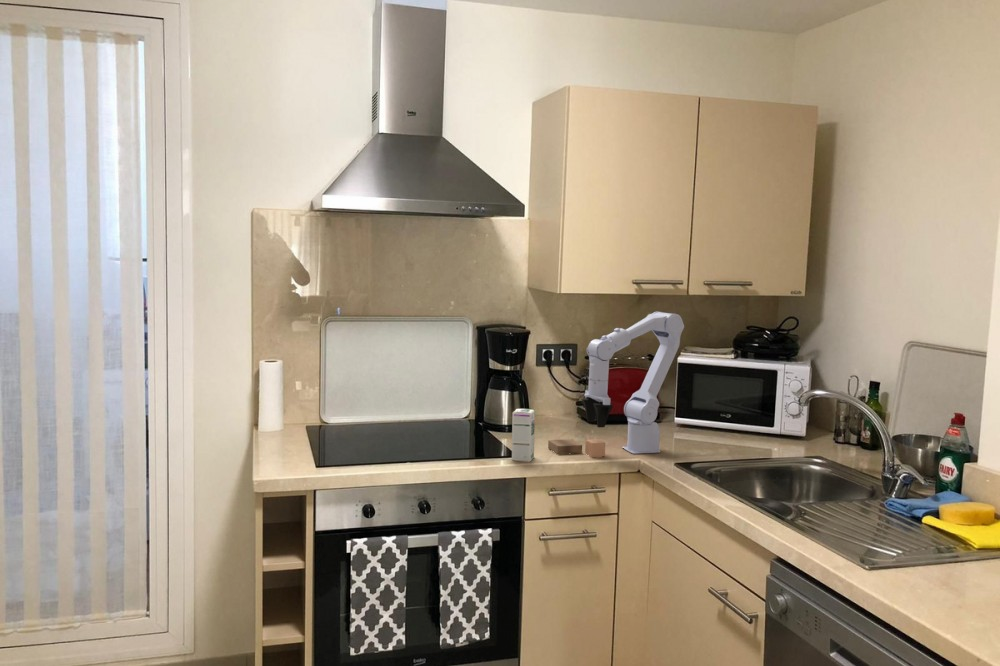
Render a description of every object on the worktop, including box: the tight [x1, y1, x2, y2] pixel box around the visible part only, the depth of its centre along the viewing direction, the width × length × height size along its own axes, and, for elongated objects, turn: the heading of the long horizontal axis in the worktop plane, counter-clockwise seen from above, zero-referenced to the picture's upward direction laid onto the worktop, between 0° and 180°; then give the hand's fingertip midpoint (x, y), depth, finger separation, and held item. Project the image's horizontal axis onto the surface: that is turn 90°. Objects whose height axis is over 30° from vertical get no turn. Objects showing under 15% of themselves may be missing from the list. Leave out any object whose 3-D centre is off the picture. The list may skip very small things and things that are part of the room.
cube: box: [584, 438, 606, 458], centre depth 251 cm, size 4×4×4 cm
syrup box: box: [511, 408, 536, 463], centre depth 244 cm, size 6×6×14 cm
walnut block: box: [547, 438, 583, 455], centre depth 256 cm, size 8×8×3 cm
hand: (595, 424), depth 251 cm, fingers open, 7 cm apart
